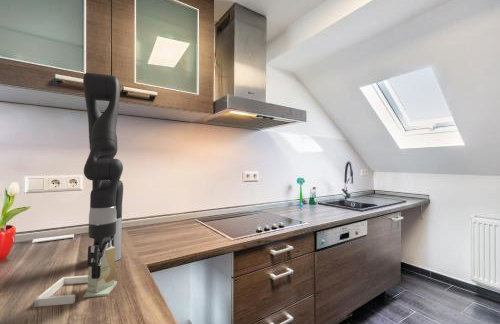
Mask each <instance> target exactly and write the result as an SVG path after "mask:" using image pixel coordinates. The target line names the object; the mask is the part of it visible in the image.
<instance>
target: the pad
mask: <svg viewBox="0 0 500 324" xmlns="http://www.w3.org/2000/svg"><path fill="white" fill-rule="evenodd" d="M117 284H118V281H117V280H114V284H113V285H111V286H109V287H107V288H105V289H103V290H101V291H99V292H97V293H96V292H92V291H89V290H88V289H87V291H86V292H85V293H84V295H83V298H93V297H104V296H106V297H107V296H109V295H110V293H111V292H112V290H113V289H114V288H115V286H116V285H117Z"/></svg>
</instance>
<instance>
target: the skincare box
mask: <svg viewBox="0 0 500 324" xmlns="http://www.w3.org/2000/svg"><path fill="white" fill-rule="evenodd" d="M115 250H116V247H113V246H111V247H108V248H107V249H106V252H105V256H104V258H102V261H101V276H100V278H98V279H92V278H91V276H92V267H88V283H87V291H88V290H89V291H92V292H96V293H97V292H99V291H101V290H103V289H105V288H107V287H109V286H111V285H113V284H114V281H115V279H116V278H115V277H116V275H115V274H116V273H115V271H116V261H115ZM101 254H102V252H99V255H101ZM91 260H92V259H91ZM94 262H95V261H94Z"/></svg>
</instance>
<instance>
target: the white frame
mask: <svg viewBox="0 0 500 324" xmlns="http://www.w3.org/2000/svg"><path fill="white" fill-rule="evenodd" d="M73 284H74V285H75V284H88V275H76V276H63V277H61V278H59V280H57V281H56V282H55V283H53V284H52V285H51V286H50V287H49V288H47V289H46V290H44V291H43V292H42V293H41V294H40V295H38V296H37V297H36V298H34V300H33V308H37V307H38V308H39V307H47V306H49V307H50V306H59V305H71V304H72V305H73V304H74V303H75V302H76V294H66V295H55V296H54V294H55V293H56V292H57V291H59V290H60V289H61V288H62V287H63V286H64V285H73Z"/></svg>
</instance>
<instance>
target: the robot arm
mask: <svg viewBox="0 0 500 324" xmlns="http://www.w3.org/2000/svg"><path fill="white" fill-rule="evenodd" d="M82 80H83V81H82V85H83V86H82V87H83V92H84V99H85V106H86V111H87V119H88V120H87V121H88V123H87V124H88V139H89V140H88V141H89V154H88V157H87V159H86V162H85V163H84V168H83V175H84V176H85V178H86V179H87V180H88V181H92V183H91V185H92V186H91V187H92V190H90V193H89V196H90V198H89V201H90V202H89V212H88V232H87V233H88V234H87V235H88V238H90V239H93V244H92V245H89V246H88V247H87V268H89V267H92V276H91V278H92V279H98V278H100V276H101V261H102V258H104V256H105V252H106V249H107V248H108V247H111V246H113V247H116V250H115V262H117V261H119V260H120V259H122V236H123V235H122V232H123V231H122V229H123V228H122V226H123V225H122V224H123V223H122V222H123V197H124V196H123V195H124V183H123V181H122V180H120V179H121V177H122V174H123V170H124V166H123V165H124V164H123V163H122V161H121V160H120V159H118V158H115V157H116V155H117V154H118V153H117V152H118V137H117V136H118V135H117V121H118V116H119V115H118V114H119V108H120V107H119V106H120V99H121V97H120V96H121V87H120V81H119V79H118V77H117V76H115V75H110V74H103V73H96V72H94V73H93V72H85V73H84V75H83V79H82ZM97 101H103V102H108V105H107V107H106V109H105V110H104V111H103V112H101V111H100V108H99V107H98V103H97ZM99 252H102V254H101V255H99ZM91 259H92V260H91ZM94 261H95V262H94Z"/></svg>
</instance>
